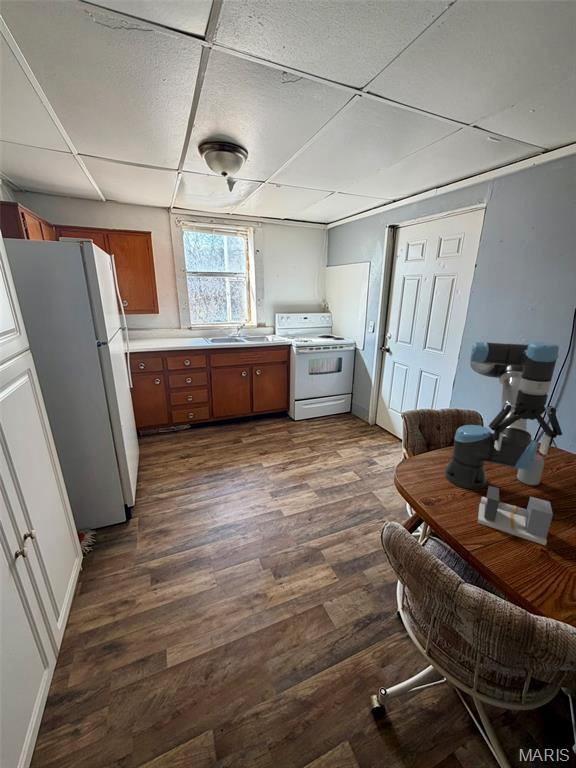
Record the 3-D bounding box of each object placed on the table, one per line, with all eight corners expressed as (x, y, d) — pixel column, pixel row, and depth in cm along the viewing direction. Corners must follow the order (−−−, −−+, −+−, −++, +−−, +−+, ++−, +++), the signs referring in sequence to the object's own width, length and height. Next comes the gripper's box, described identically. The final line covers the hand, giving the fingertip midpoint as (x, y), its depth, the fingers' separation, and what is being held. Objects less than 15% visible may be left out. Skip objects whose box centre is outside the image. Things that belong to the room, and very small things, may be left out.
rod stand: (477, 522, 103) (483, 496, 100) (479, 506, 111) (484, 481, 108) (545, 545, 93) (553, 517, 90) (541, 525, 101) (549, 499, 98)
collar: (484, 517, 102) (488, 497, 100) (484, 504, 109) (488, 485, 106) (494, 521, 101) (499, 501, 98) (494, 507, 107) (499, 488, 105)
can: (511, 476, 129) (517, 451, 125) (528, 475, 129) (534, 450, 126) (526, 487, 121) (533, 460, 118) (543, 486, 122) (550, 459, 119)
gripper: (493, 392, 96) (482, 452, 102) (587, 397, 90) (569, 460, 96) (484, 386, 103) (474, 442, 109) (571, 390, 97) (555, 449, 103)
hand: (519, 450), depth 102 cm, fingers open, 13 cm apart
